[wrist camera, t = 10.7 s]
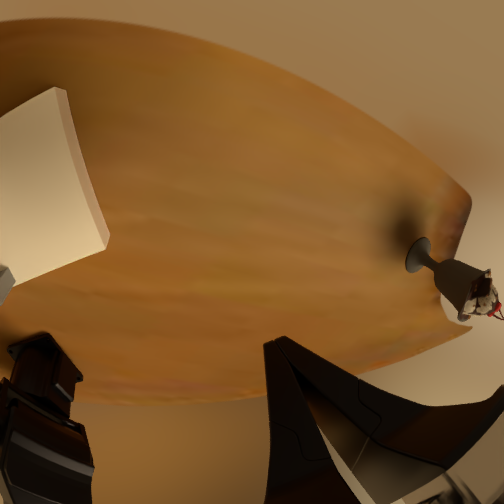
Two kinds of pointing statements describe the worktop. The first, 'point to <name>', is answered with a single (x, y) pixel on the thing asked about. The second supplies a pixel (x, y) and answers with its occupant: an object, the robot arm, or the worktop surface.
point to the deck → (45, 190)
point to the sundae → (457, 282)
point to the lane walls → (5, 283)
